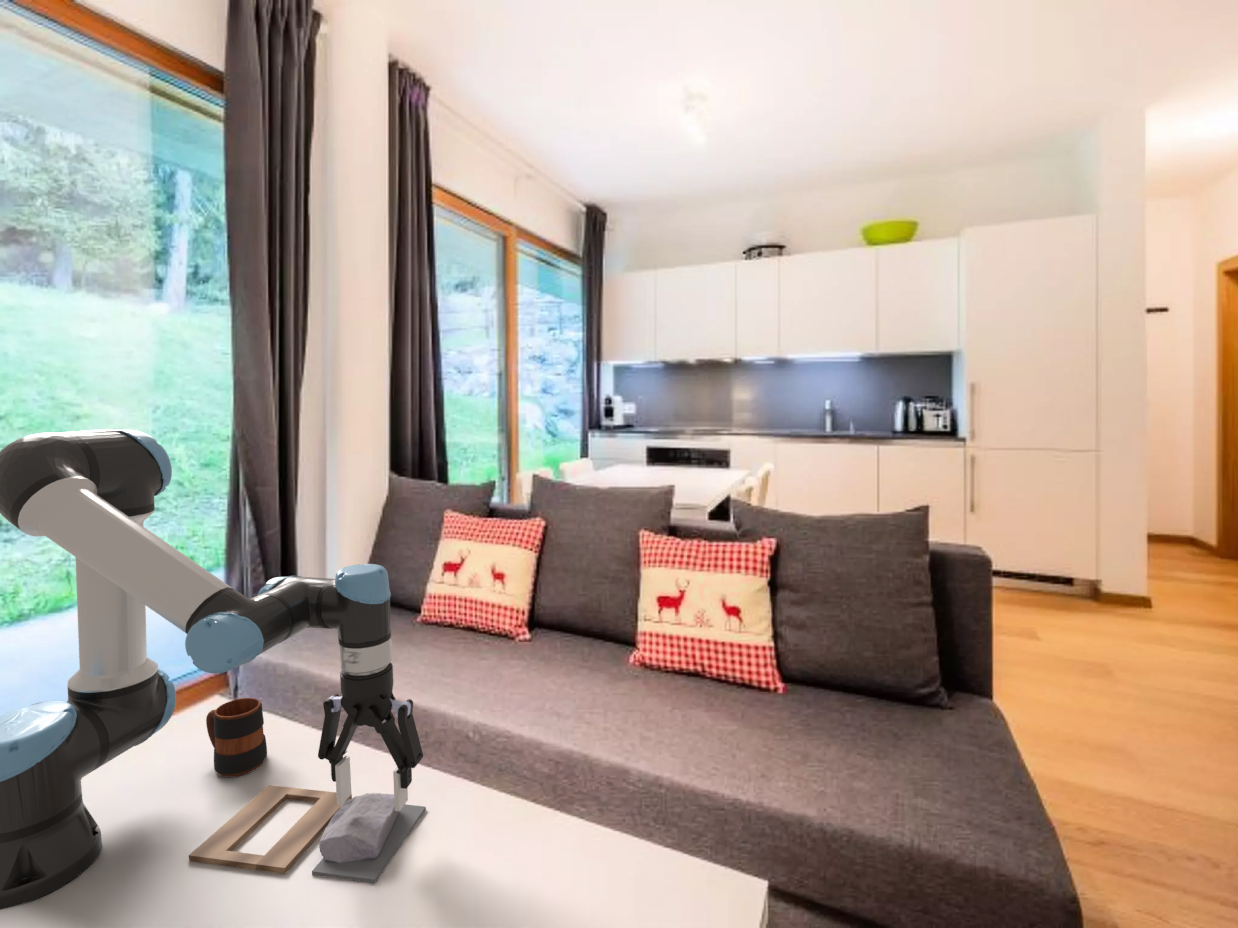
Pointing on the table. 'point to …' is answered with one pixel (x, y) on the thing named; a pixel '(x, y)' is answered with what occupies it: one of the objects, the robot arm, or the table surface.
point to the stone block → (359, 828)
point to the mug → (237, 737)
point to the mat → (375, 867)
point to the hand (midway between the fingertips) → (372, 802)
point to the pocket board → (254, 814)
